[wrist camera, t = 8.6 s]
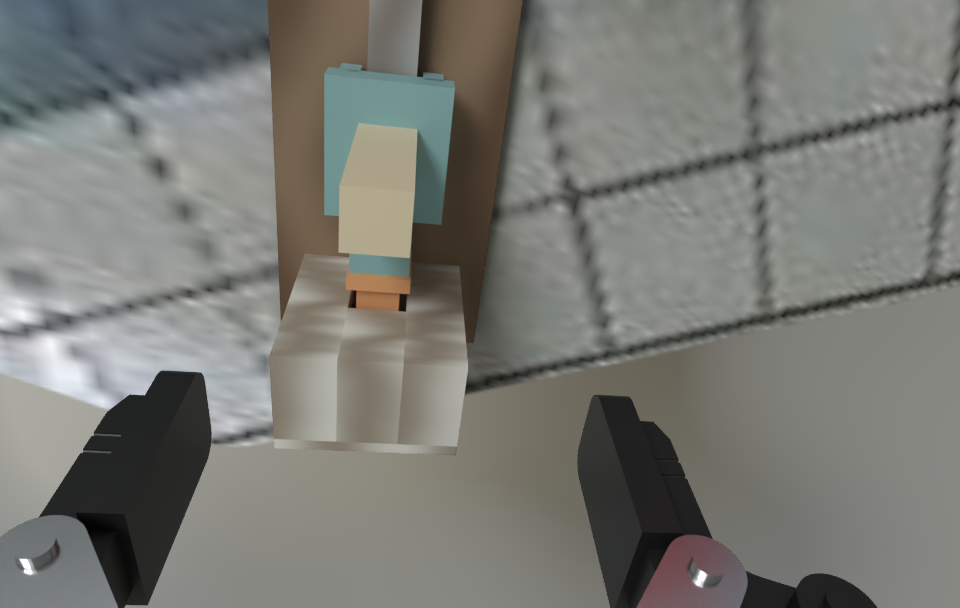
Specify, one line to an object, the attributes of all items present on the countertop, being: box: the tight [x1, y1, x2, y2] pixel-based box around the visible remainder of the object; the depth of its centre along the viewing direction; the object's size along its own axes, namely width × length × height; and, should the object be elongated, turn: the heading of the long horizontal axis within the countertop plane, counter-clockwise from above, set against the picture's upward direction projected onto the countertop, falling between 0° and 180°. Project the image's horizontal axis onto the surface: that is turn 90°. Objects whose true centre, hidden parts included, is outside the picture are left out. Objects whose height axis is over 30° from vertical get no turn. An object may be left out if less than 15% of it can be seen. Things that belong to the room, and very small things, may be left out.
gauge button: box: [346, 251, 412, 311], centre depth 36 cm, size 3×6×3 cm, turn 173°
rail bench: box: [268, 0, 523, 455], centre depth 30 cm, size 12×27×11 cm, turn 173°
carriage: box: [324, 63, 455, 277], centre depth 30 cm, size 6×9×11 cm, turn 173°
